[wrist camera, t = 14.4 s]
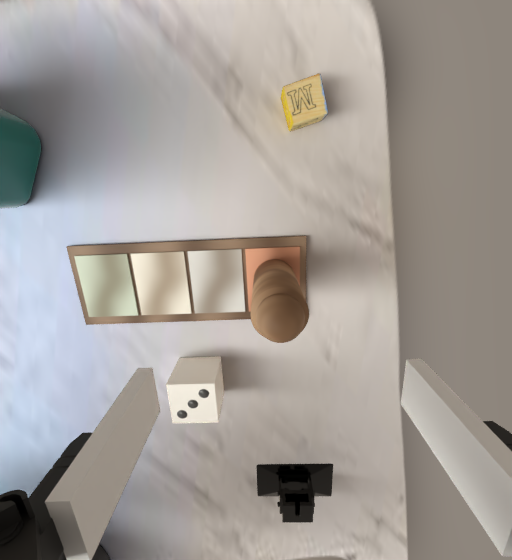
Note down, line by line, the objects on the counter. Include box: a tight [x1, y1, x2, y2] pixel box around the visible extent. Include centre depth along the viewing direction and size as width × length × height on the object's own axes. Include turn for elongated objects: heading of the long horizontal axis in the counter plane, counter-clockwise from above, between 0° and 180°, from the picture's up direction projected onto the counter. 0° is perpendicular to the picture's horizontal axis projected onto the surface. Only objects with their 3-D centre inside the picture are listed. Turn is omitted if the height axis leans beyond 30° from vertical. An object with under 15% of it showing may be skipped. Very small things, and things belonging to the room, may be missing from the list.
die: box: [166, 357, 224, 423], centre depth 32 cm, size 5×5×5 cm
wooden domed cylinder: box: [251, 259, 309, 343], centre depth 24 cm, size 4×4×11 cm
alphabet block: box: [281, 74, 328, 131], centre depth 24 cm, size 3×3×3 cm
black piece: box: [257, 464, 333, 522], centre depth 37 cm, size 13×8×5 cm, turn 92°
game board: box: [67, 236, 306, 325], centre depth 30 cm, size 25×9×1 cm, turn 93°
